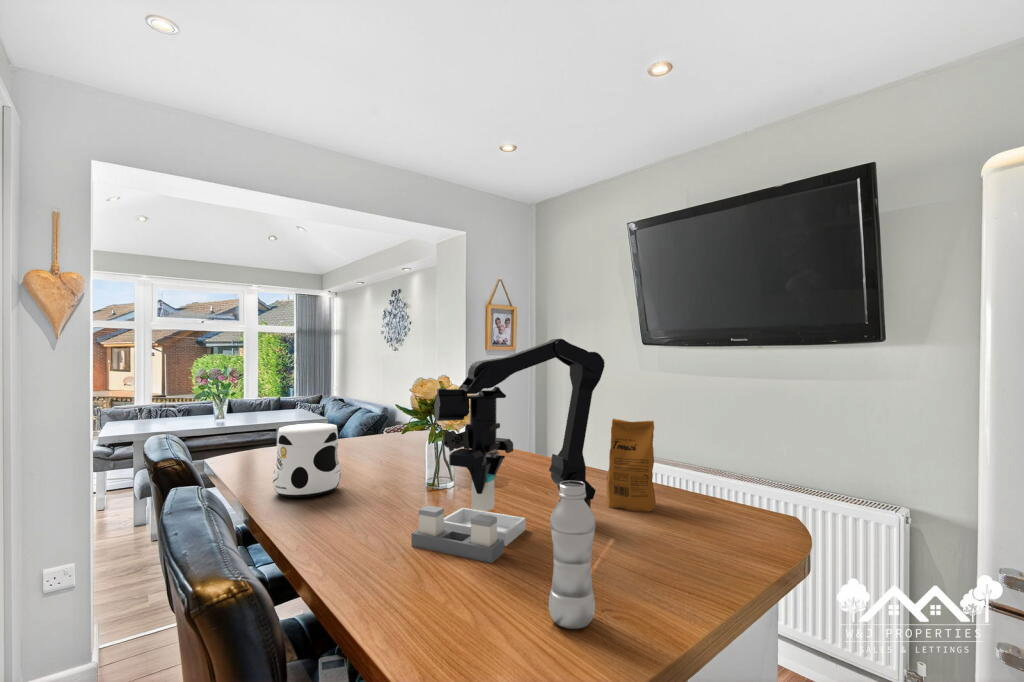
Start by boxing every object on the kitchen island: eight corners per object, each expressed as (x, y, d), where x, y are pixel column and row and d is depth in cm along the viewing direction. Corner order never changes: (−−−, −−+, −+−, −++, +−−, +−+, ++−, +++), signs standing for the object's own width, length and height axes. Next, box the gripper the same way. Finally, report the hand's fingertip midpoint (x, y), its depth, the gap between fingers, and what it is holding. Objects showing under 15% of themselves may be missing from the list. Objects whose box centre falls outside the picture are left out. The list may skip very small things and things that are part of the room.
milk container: (259, 494, 131) (260, 428, 131) (317, 480, 145) (318, 421, 146) (295, 506, 121) (296, 434, 122) (353, 490, 135) (354, 426, 136)
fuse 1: (443, 542, 97) (444, 508, 97) (435, 548, 95) (435, 512, 95) (427, 539, 99) (427, 505, 99) (418, 544, 96) (418, 509, 96)
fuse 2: (496, 553, 92) (496, 516, 92) (489, 559, 89) (489, 521, 90) (478, 550, 94) (478, 513, 94) (470, 555, 91) (471, 518, 91)
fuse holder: (503, 555, 93) (503, 539, 93) (491, 565, 88) (491, 549, 88) (426, 539, 100) (426, 524, 100) (411, 548, 96) (411, 533, 96)
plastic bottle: (547, 610, 73) (548, 477, 74) (592, 611, 73) (592, 478, 73) (549, 635, 67) (549, 489, 67) (598, 636, 66) (598, 490, 67)
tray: (525, 531, 105) (525, 517, 105) (505, 548, 96) (505, 533, 96) (462, 520, 112) (462, 507, 112) (438, 535, 103) (438, 521, 103)
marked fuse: (494, 507, 104) (494, 474, 105) (487, 511, 102) (487, 477, 102) (478, 504, 106) (478, 472, 106) (471, 508, 103) (471, 475, 104)
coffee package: (610, 497, 131) (610, 415, 131) (657, 503, 126) (657, 418, 126) (602, 507, 121) (602, 420, 122) (653, 514, 116) (652, 423, 117)
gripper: (472, 412, 116) (472, 477, 116) (427, 422, 99) (426, 498, 99) (514, 414, 111) (514, 482, 111) (474, 426, 95) (474, 506, 94)
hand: (483, 491), depth 104 cm, fingers closed on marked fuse, 3 cm apart
